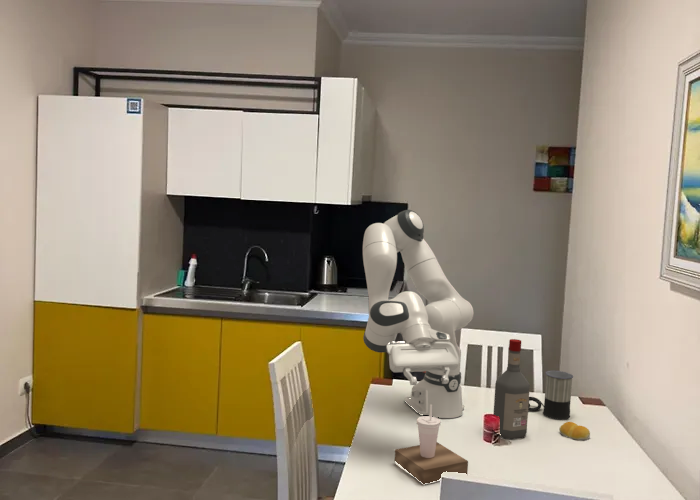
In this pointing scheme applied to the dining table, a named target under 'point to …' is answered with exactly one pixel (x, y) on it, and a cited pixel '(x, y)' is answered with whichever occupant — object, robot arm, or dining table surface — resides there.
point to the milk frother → (556, 396)
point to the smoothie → (428, 434)
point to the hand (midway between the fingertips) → (429, 383)
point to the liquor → (512, 396)
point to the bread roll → (574, 431)
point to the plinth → (430, 462)
